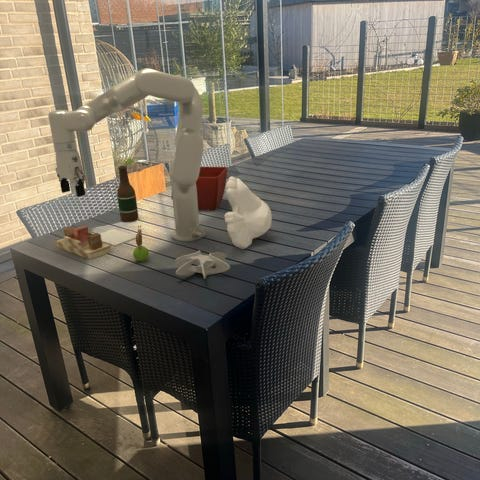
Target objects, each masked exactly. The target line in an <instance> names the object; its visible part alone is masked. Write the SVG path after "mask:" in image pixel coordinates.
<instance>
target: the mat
mask: <svg viewBox="0 0 480 480" xmlns="http://www.w3.org/2000/svg"><path fill="white" fill-rule="evenodd" d="M100 234H101V240H102V243H103V242H104V243H105V244H107V245H110V246H111V247H112V246H113V247H117V246H120V245H123V244H125V242H126V243H129V242H130V241H133V240H136V235H135V234H130V233H127V232H124V231H121V230H118V229H115V228H113V229H110V230H106V231H103V232H101V233H100Z"/></svg>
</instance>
